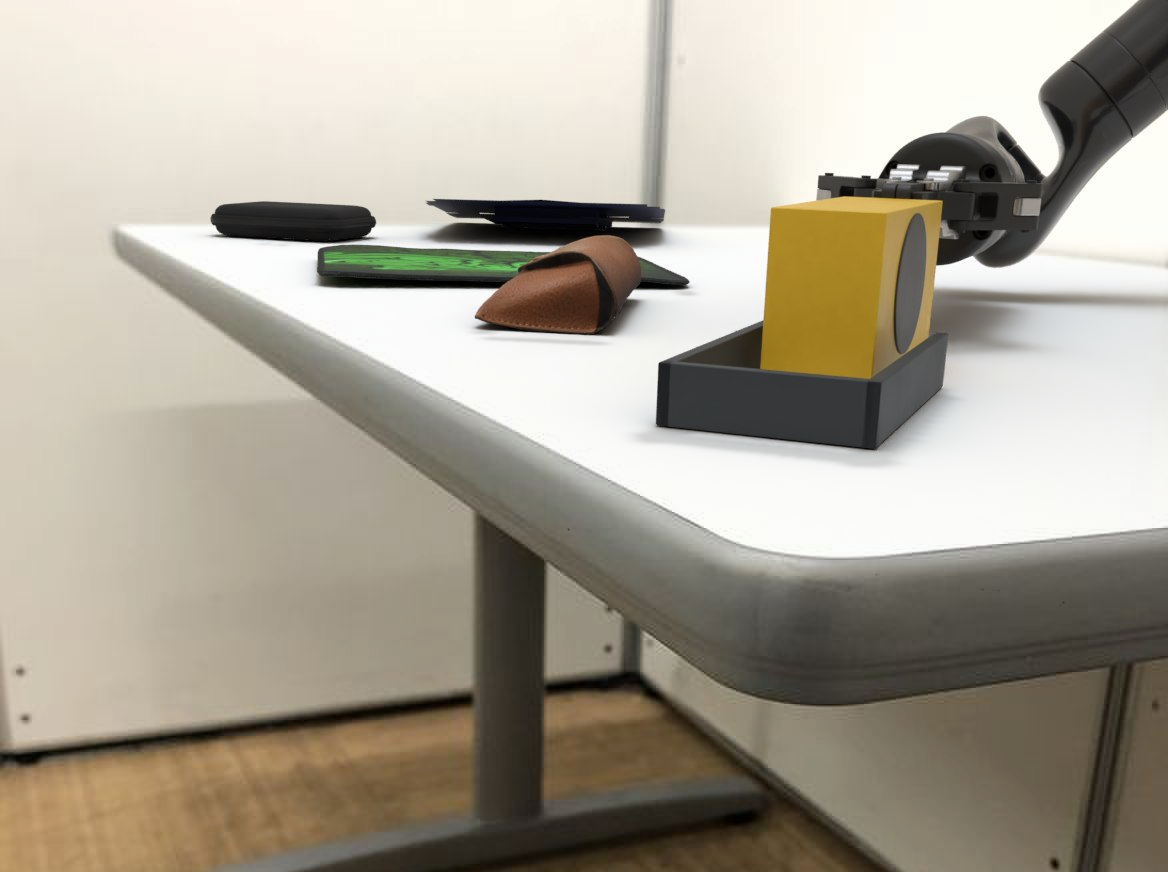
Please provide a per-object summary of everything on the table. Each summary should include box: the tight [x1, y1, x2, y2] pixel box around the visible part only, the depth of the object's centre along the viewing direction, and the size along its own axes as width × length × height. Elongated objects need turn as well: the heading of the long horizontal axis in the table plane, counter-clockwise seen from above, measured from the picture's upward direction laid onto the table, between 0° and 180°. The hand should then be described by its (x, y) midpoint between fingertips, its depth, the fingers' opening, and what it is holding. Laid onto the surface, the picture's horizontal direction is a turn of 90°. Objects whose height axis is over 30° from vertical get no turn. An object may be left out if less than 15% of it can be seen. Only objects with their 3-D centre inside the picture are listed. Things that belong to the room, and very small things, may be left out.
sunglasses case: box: [473, 234, 642, 335], centre depth 87 cm, size 18×7×7 cm
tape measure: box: [760, 196, 943, 379], centre depth 66 cm, size 13×5×8 cm, turn 156°
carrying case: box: [209, 200, 377, 242], centre depth 139 cm, size 11×3×15 cm
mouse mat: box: [316, 244, 691, 286], centre depth 110 cm, size 27×22×1 cm
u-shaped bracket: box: [655, 320, 949, 450], centre depth 60 cm, size 15×9×2 cm, turn 157°
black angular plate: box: [425, 198, 666, 239], centre depth 149 cm, size 24×30×4 cm
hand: (893, 206), depth 71 cm, fingers closed
